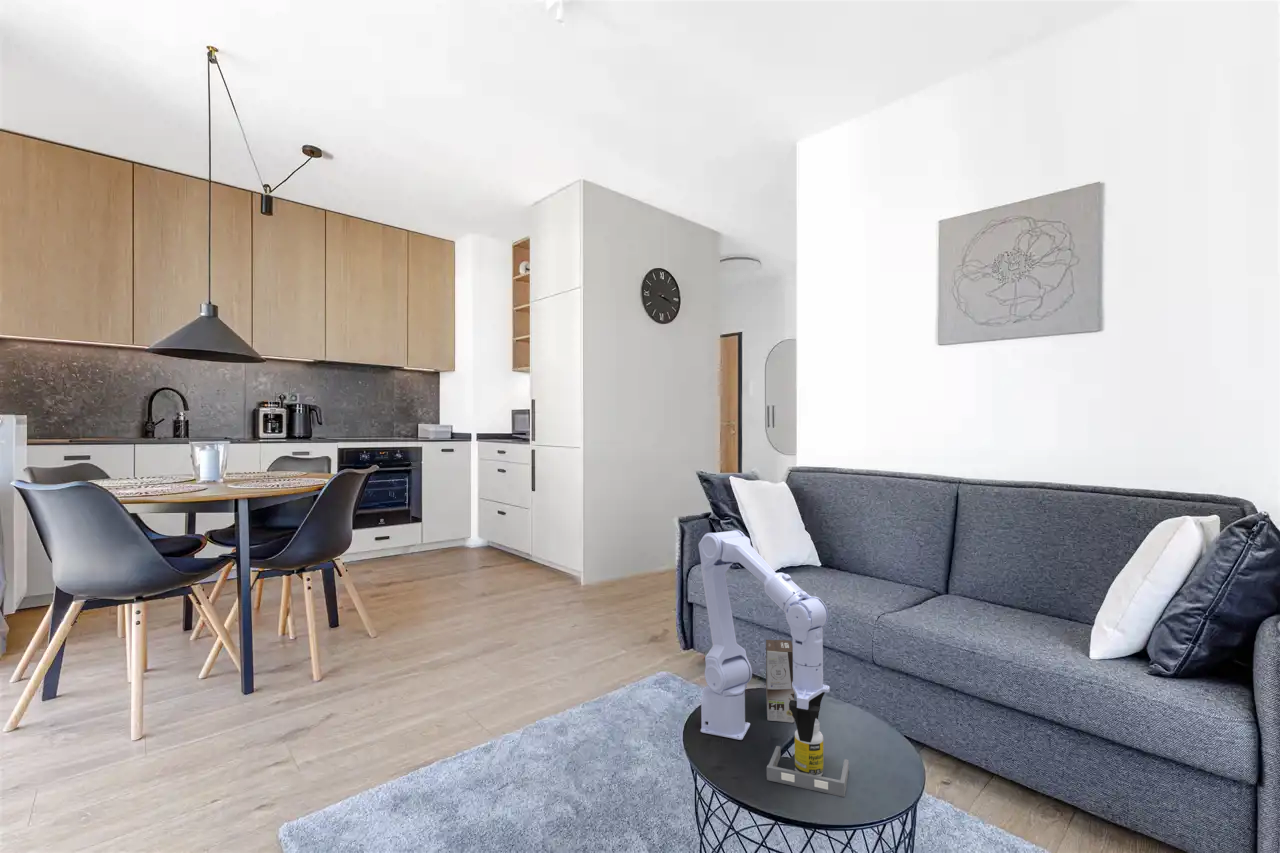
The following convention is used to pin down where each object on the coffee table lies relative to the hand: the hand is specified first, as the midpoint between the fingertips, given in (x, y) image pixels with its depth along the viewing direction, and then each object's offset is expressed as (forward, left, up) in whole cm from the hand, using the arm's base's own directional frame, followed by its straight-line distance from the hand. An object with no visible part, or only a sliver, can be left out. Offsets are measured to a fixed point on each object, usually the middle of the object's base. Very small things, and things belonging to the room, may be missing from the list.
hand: (808, 732), depth 116 cm
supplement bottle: (0, 0, -8) cm, 8 cm away
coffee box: (-10, +24, -8) cm, 27 cm away
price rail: (0, -2, -7) cm, 8 cm away
